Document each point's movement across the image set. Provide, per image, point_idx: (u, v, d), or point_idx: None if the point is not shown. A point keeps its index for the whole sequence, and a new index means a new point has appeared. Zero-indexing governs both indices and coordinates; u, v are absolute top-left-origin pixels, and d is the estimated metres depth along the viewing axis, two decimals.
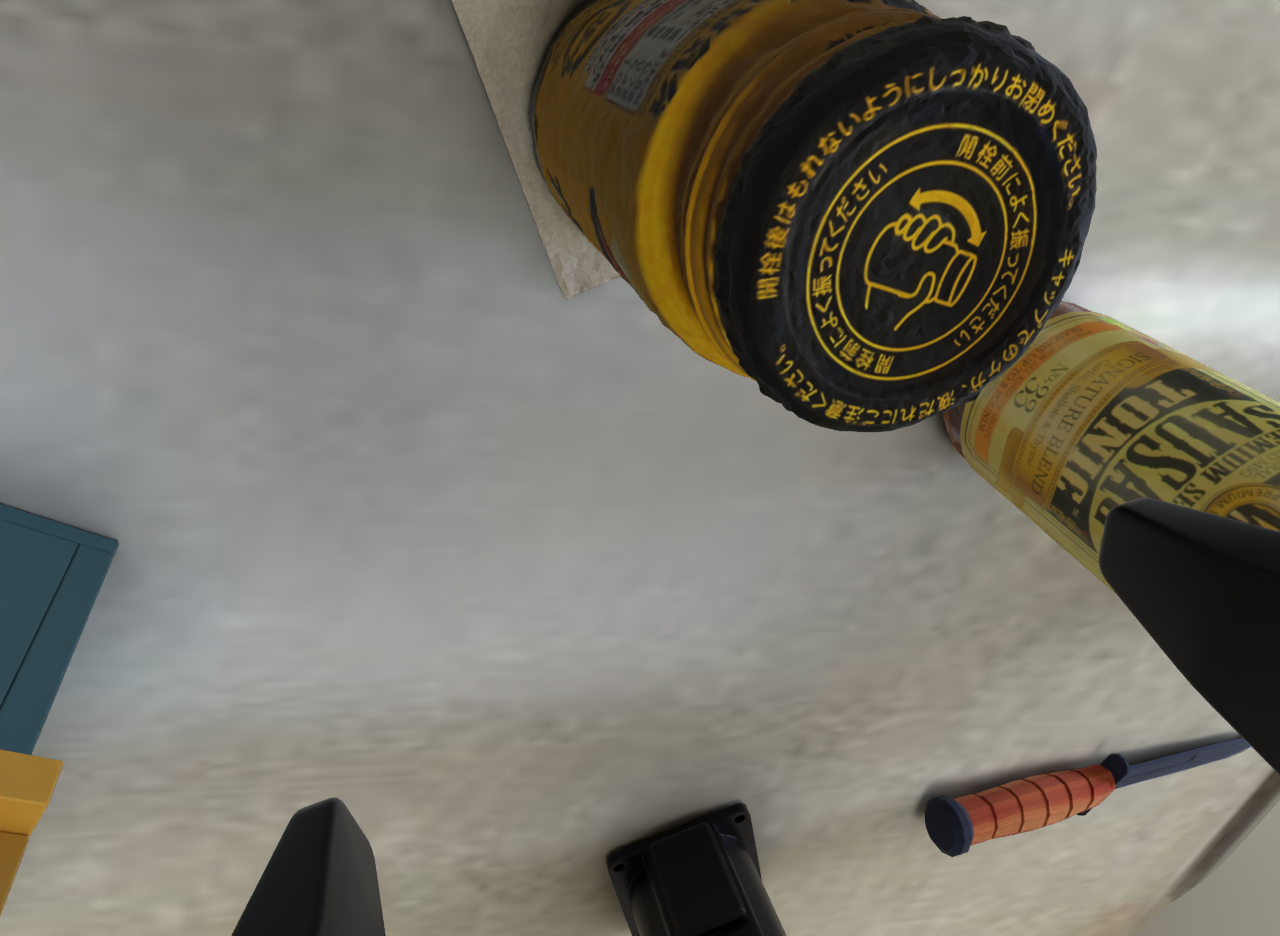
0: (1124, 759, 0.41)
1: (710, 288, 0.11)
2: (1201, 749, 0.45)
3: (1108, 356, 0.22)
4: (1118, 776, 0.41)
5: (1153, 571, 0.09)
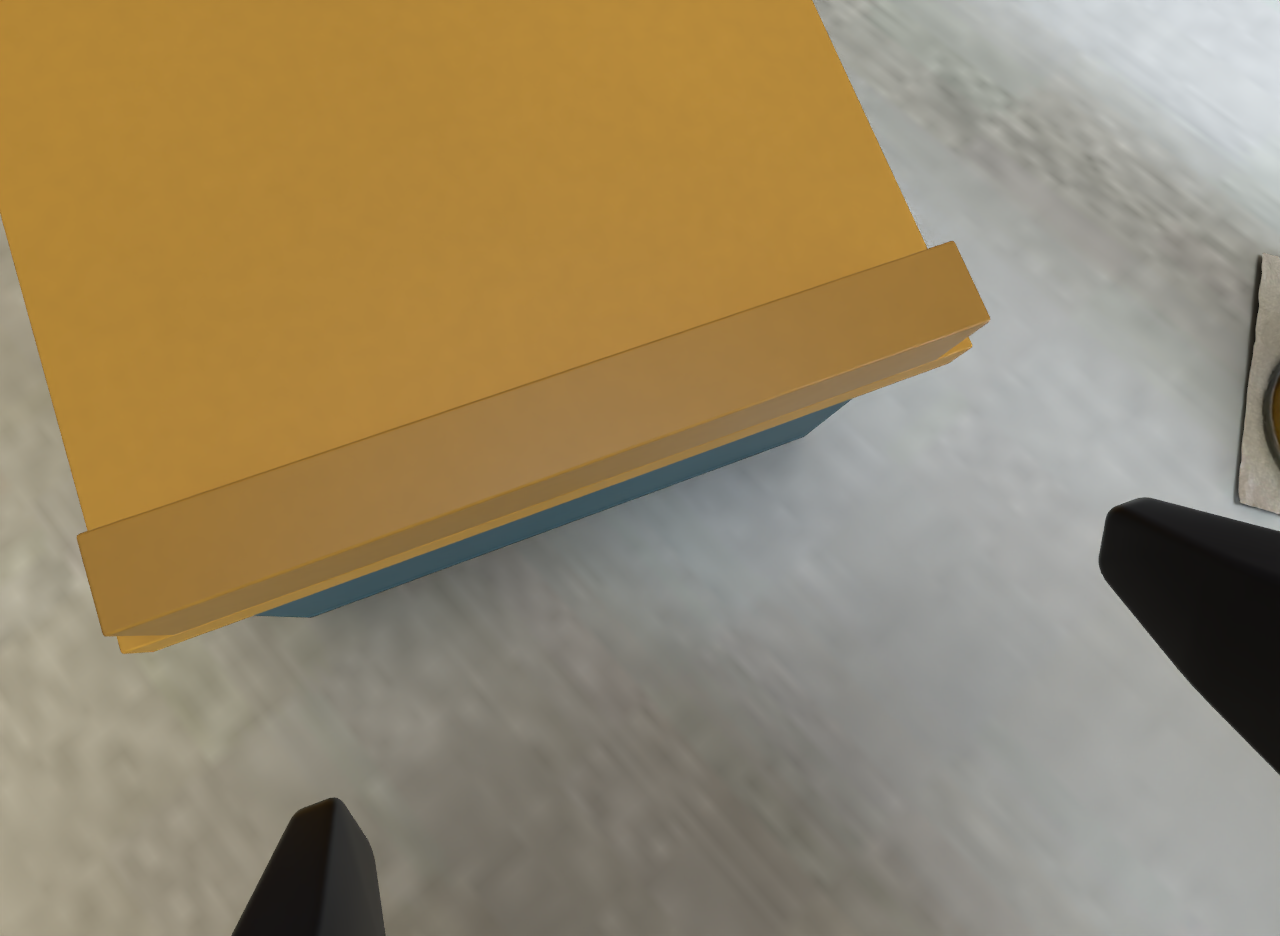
0: None
1: None
2: None
3: None
4: None
5: (1153, 571, 0.09)
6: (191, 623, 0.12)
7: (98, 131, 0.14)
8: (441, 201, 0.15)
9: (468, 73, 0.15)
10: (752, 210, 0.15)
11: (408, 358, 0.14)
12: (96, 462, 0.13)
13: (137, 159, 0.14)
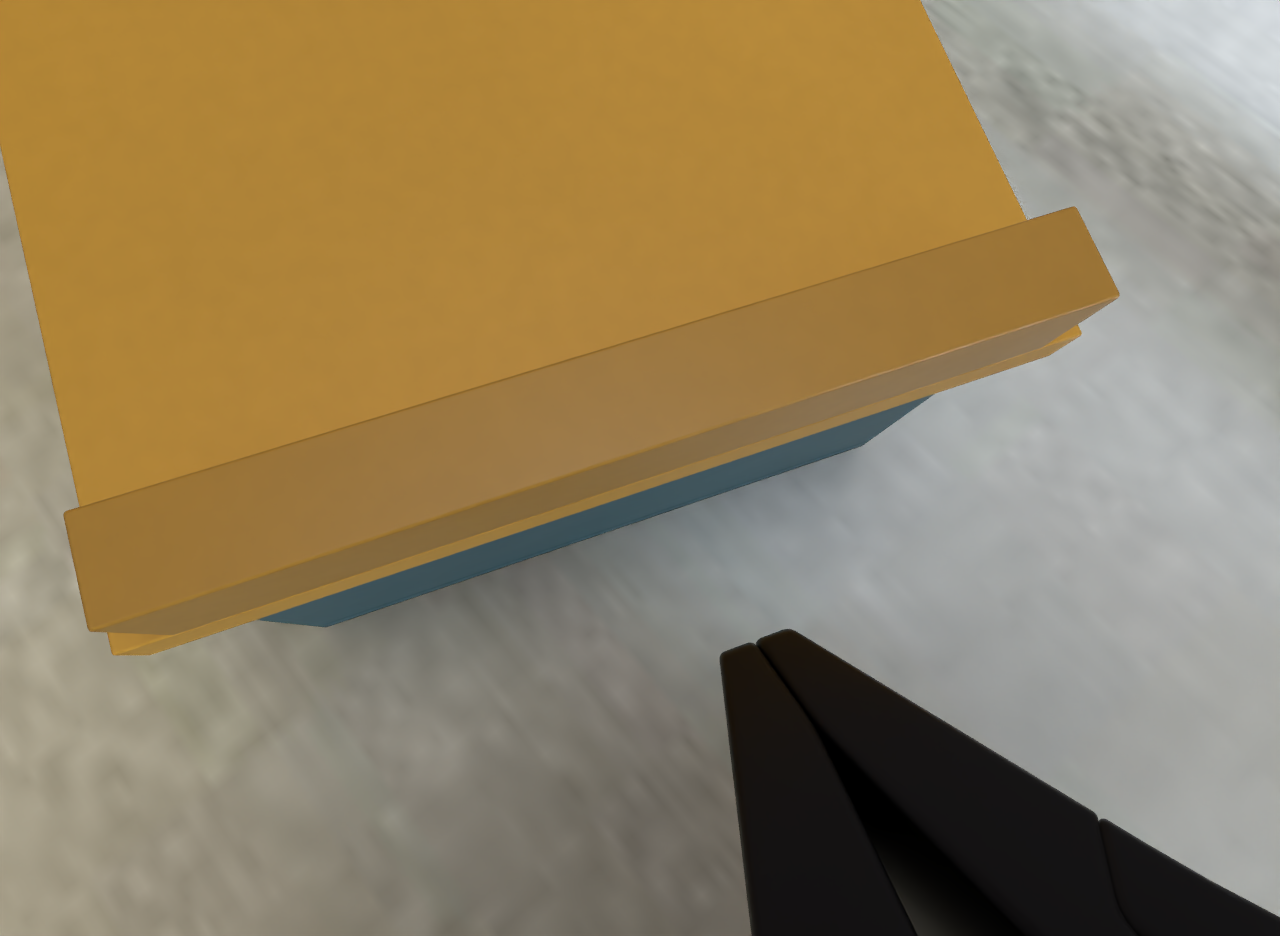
0: None
1: None
2: None
3: None
4: None
5: None
6: (193, 621, 0.11)
7: (116, 76, 0.13)
8: (490, 160, 0.13)
9: (522, 24, 0.14)
10: (833, 178, 0.14)
11: (449, 330, 0.13)
12: (95, 436, 0.12)
13: (157, 106, 0.13)
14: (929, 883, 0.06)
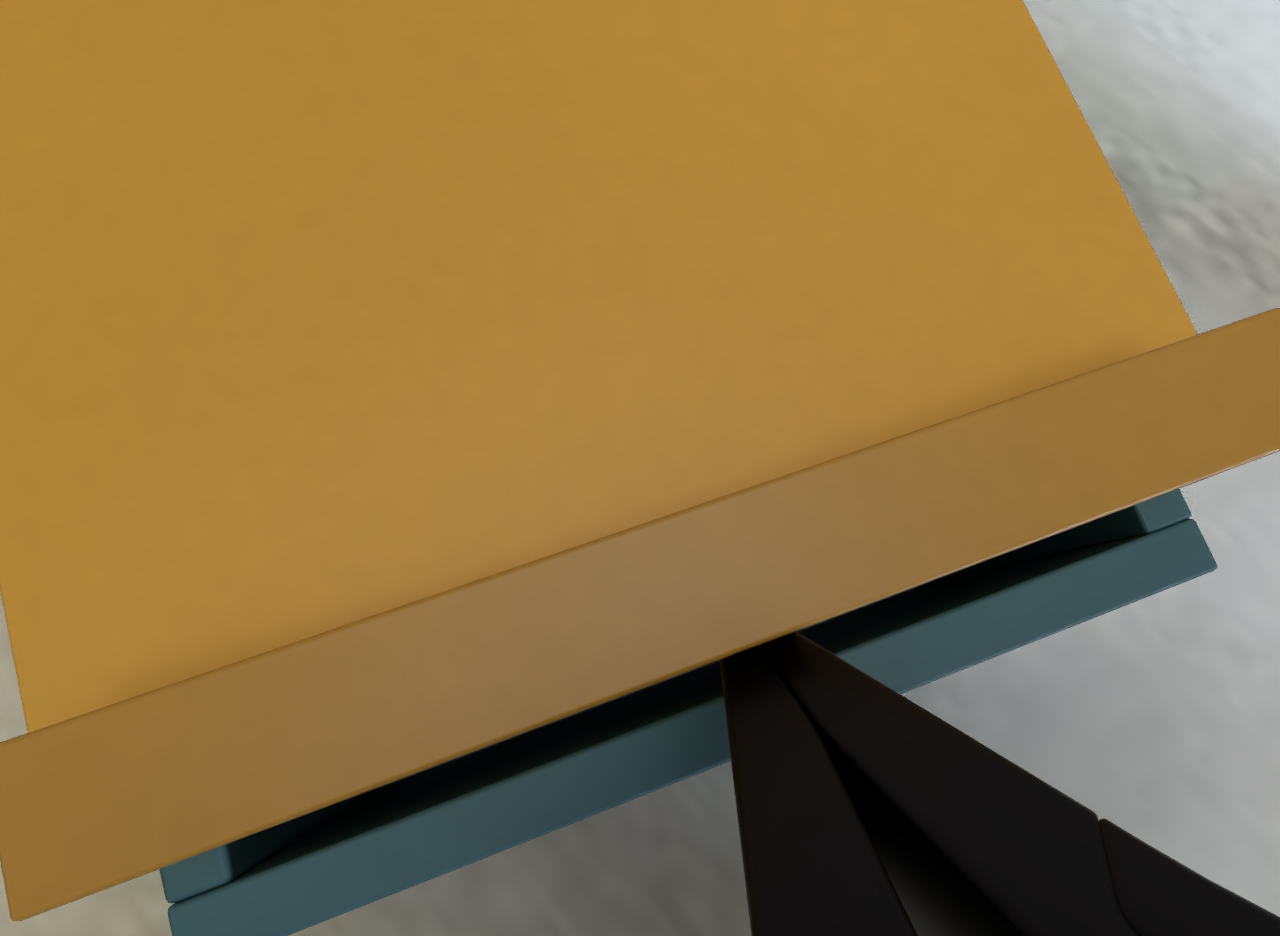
0: None
1: None
2: None
3: None
4: None
5: None
6: None
7: (75, 139, 0.11)
8: (533, 239, 0.11)
9: (570, 71, 0.11)
10: (949, 257, 0.11)
11: (485, 455, 0.10)
12: (41, 601, 0.09)
13: (126, 176, 0.11)
14: (929, 884, 0.06)
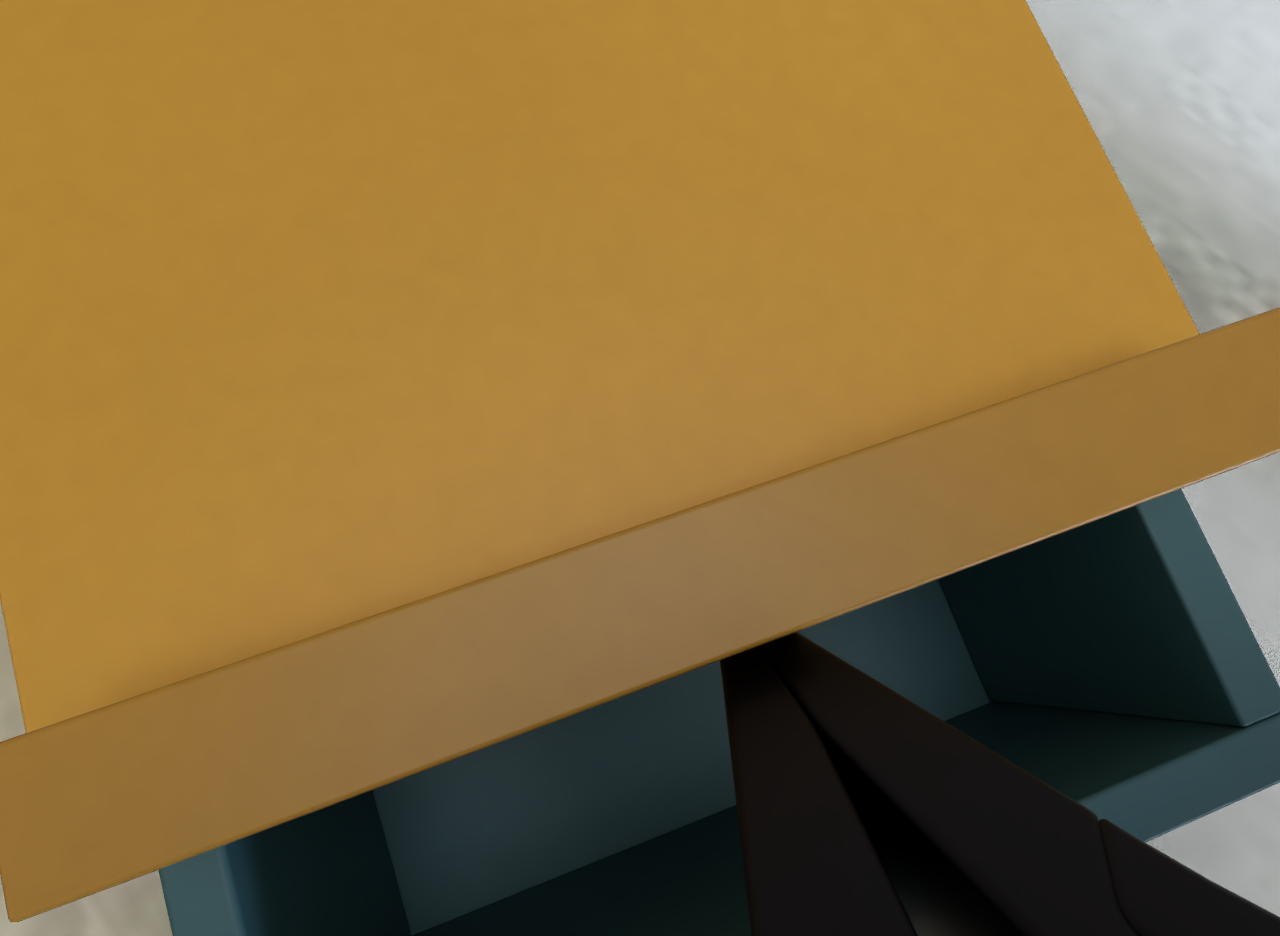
0: None
1: None
2: None
3: None
4: None
5: None
6: None
7: (73, 136, 0.11)
8: (533, 238, 0.11)
9: (570, 69, 0.11)
10: (950, 256, 0.11)
11: (485, 455, 0.10)
12: (39, 600, 0.09)
13: (124, 175, 0.11)
14: (929, 883, 0.06)
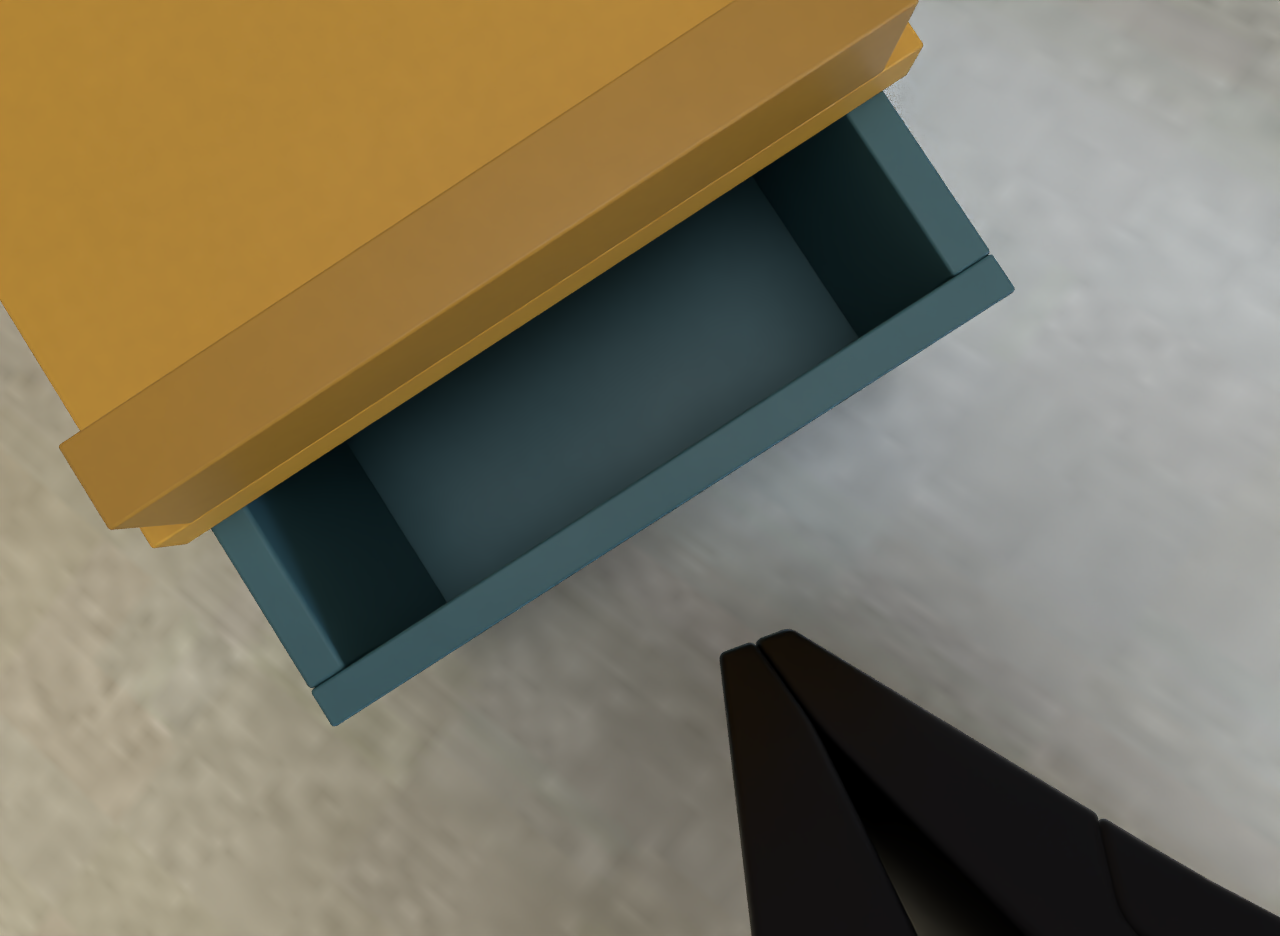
0: None
1: None
2: None
3: None
4: None
5: None
6: (197, 507, 0.13)
7: None
8: (320, 35, 0.14)
9: None
10: None
11: (330, 211, 0.14)
12: (77, 382, 0.14)
13: (20, 73, 0.14)
14: (929, 883, 0.06)
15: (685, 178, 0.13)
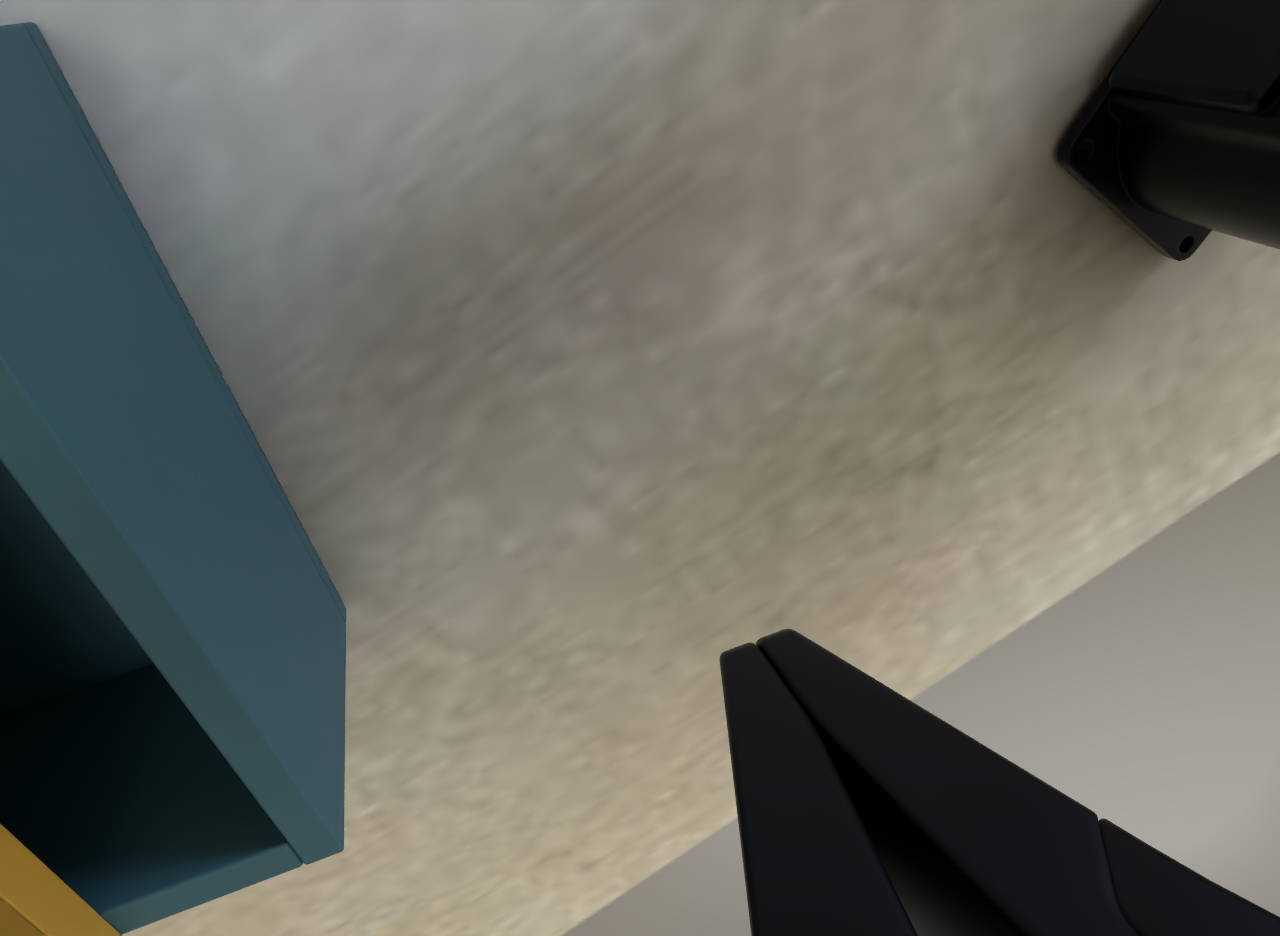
0: None
1: None
2: None
3: None
4: None
5: None
6: None
7: None
8: None
9: None
10: None
11: None
12: None
13: None
14: (929, 883, 0.06)
15: None
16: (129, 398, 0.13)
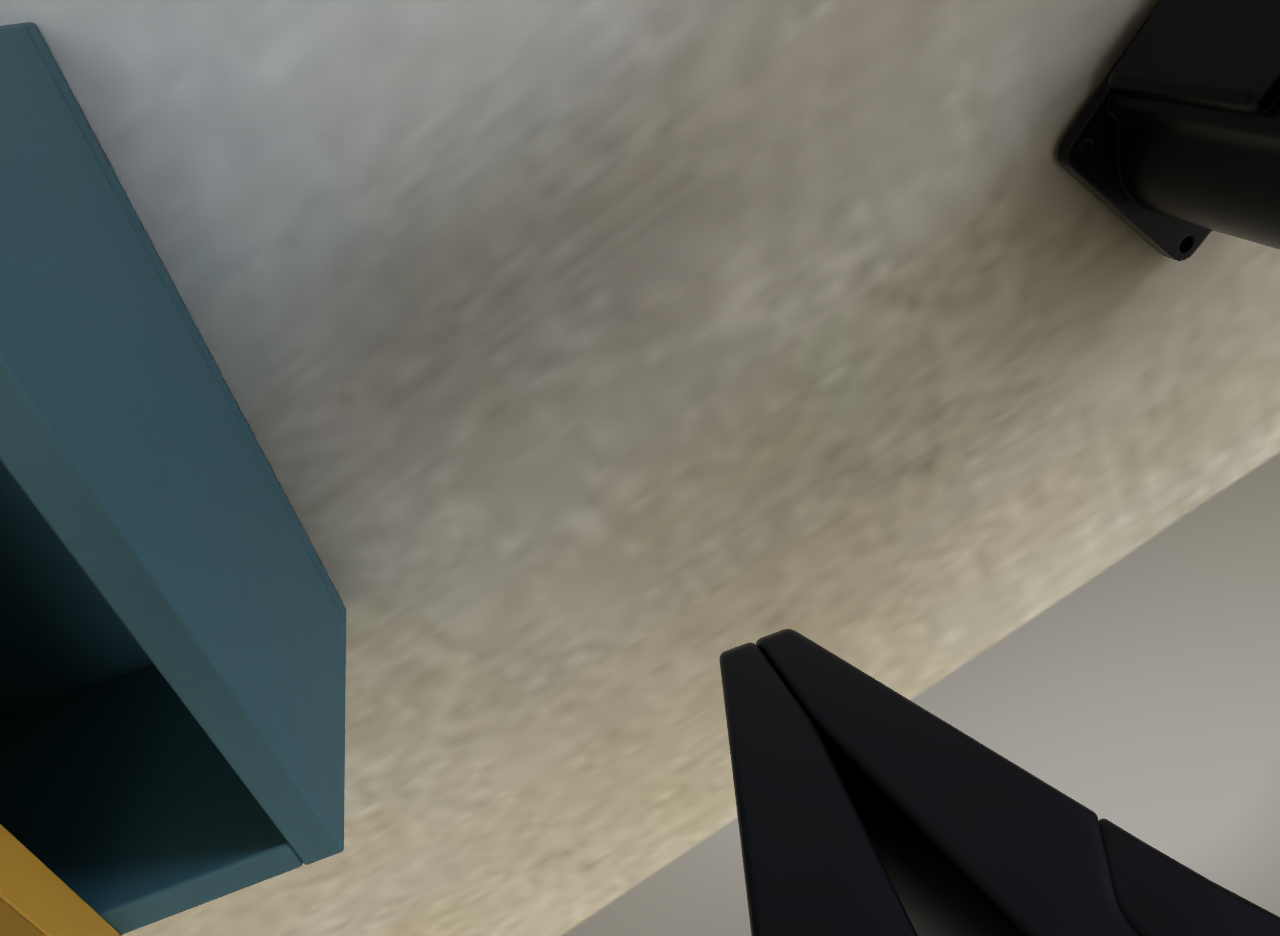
0: None
1: None
2: None
3: None
4: None
5: None
6: None
7: None
8: None
9: None
10: None
11: None
12: None
13: None
14: (929, 883, 0.06)
15: None
16: (129, 398, 0.13)
